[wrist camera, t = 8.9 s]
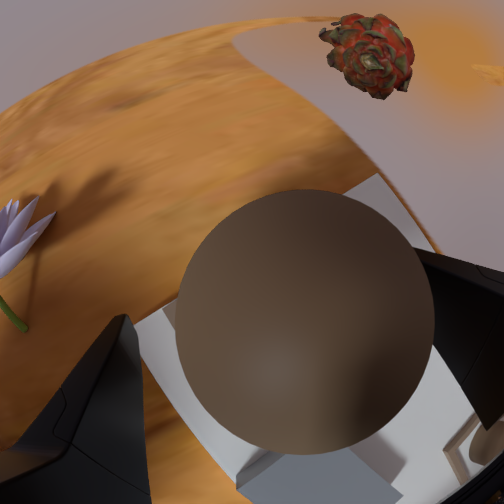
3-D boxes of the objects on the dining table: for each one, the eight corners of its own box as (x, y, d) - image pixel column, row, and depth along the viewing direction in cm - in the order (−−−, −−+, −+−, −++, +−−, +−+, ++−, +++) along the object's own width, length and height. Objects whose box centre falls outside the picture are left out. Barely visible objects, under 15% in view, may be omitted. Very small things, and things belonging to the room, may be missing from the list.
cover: (390, 485, 14) (403, 495, 12) (324, 538, 12) (332, 552, 10) (312, 414, 15) (321, 423, 13) (235, 475, 14) (236, 489, 12)
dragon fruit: (357, 131, 24) (335, 68, 29) (440, 109, 20) (398, 49, 25) (321, 59, 18) (303, 12, 23) (423, 30, 14) (375, -11, 19)
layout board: (508, 429, 16) (521, 432, 14) (346, 574, 12) (353, 586, 10) (371, 180, 21) (381, 167, 19) (132, 330, 17) (121, 329, 15)
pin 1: (304, 324, 17) (464, 287, 4) (263, 380, 16) (340, 491, 3) (249, 283, 17) (286, 146, 5) (206, 337, 16) (119, 344, 4)
